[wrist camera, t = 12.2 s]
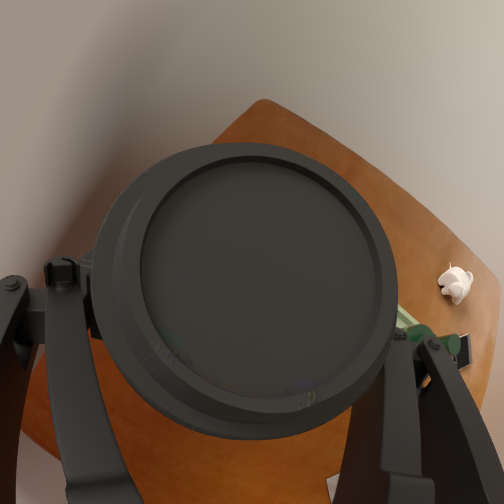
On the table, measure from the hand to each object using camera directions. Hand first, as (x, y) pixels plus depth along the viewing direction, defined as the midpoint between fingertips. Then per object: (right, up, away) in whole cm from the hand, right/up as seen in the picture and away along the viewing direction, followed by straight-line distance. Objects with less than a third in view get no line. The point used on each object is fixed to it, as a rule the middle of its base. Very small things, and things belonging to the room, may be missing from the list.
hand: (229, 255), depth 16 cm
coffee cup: (-2, -5, +4) cm, 7 cm away
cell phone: (+38, -19, +26) cm, 49 cm away
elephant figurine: (+37, -7, +30) cm, 48 cm away
